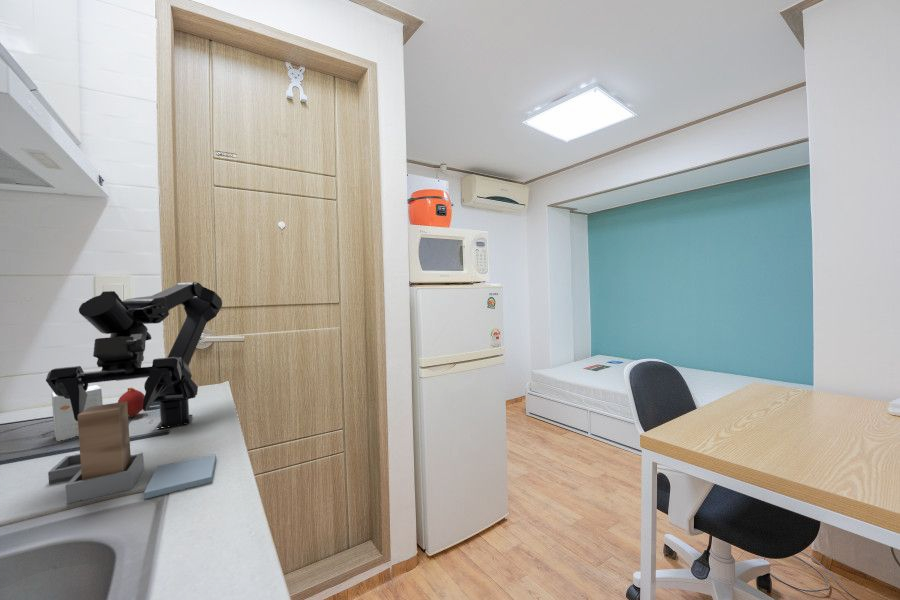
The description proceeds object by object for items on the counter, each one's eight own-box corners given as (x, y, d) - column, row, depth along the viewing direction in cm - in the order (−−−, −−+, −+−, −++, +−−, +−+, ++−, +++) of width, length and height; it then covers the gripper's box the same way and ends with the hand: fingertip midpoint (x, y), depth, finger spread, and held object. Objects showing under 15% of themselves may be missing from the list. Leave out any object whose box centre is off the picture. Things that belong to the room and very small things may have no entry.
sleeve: (86, 480, 63) (85, 464, 63) (144, 468, 67) (143, 452, 67) (66, 503, 56) (65, 485, 56) (132, 488, 60) (131, 471, 60)
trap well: (66, 466, 69) (65, 456, 69) (114, 457, 72) (114, 447, 72) (48, 483, 63) (48, 472, 63) (102, 472, 66) (101, 461, 66)
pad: (157, 471, 66) (157, 466, 66) (216, 458, 70) (215, 453, 70) (144, 499, 57) (143, 492, 57) (211, 482, 61) (211, 476, 61)
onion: (132, 412, 99) (131, 384, 99) (152, 412, 99) (151, 383, 99) (112, 420, 93) (110, 390, 93) (133, 420, 93) (131, 390, 93)
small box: (101, 425, 90) (98, 384, 90) (105, 430, 87) (102, 387, 86) (54, 436, 84) (51, 392, 83) (56, 442, 80) (52, 396, 80)
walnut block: (94, 482, 63) (89, 406, 62) (131, 474, 65) (127, 401, 65) (83, 496, 58) (77, 415, 58) (123, 487, 61) (118, 409, 60)
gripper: (47, 324, 64) (16, 401, 55) (176, 317, 73) (168, 382, 64) (69, 360, 72) (45, 433, 62) (184, 350, 81) (178, 413, 71)
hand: (111, 414), depth 65 cm, fingers open, 9 cm apart
